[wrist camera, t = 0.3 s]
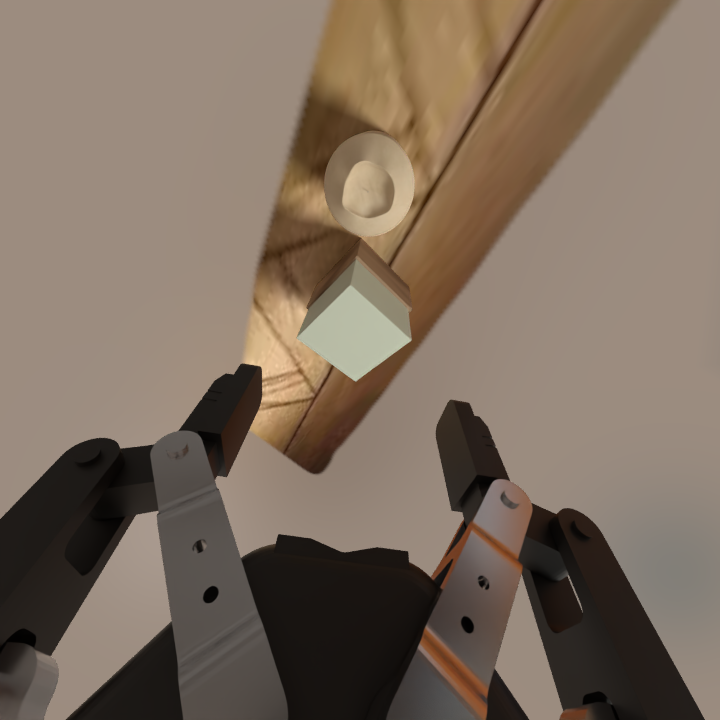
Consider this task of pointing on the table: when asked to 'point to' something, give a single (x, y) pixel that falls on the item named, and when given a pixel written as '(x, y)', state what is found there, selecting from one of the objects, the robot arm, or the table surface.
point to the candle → (369, 184)
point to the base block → (374, 266)
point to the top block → (356, 323)
